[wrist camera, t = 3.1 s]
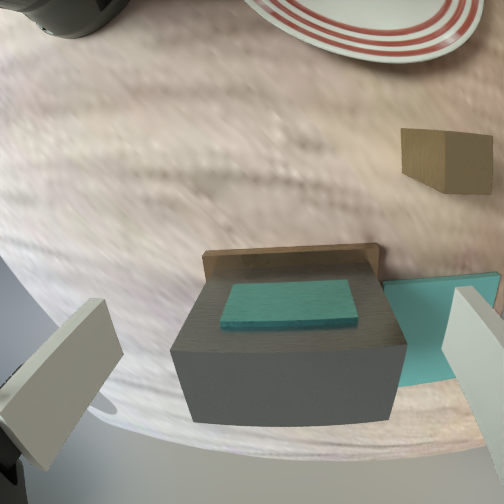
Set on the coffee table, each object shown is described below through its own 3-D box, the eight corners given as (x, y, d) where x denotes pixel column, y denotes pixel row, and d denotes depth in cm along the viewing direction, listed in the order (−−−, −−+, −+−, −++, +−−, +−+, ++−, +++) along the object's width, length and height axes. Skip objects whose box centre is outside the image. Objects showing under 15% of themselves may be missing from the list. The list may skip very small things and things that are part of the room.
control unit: (220, 335, 38) (186, 431, 25) (205, 250, 34) (151, 332, 21) (369, 330, 36) (396, 428, 22) (375, 242, 32) (425, 324, 18)
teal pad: (368, 385, 39) (369, 390, 38) (382, 281, 33) (384, 285, 32) (468, 370, 37) (470, 374, 36) (496, 271, 31) (500, 275, 30)
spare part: (402, 173, 29) (444, 193, 20) (400, 128, 27) (444, 131, 18) (440, 173, 28) (491, 194, 19) (440, 130, 27) (492, 135, 17)
